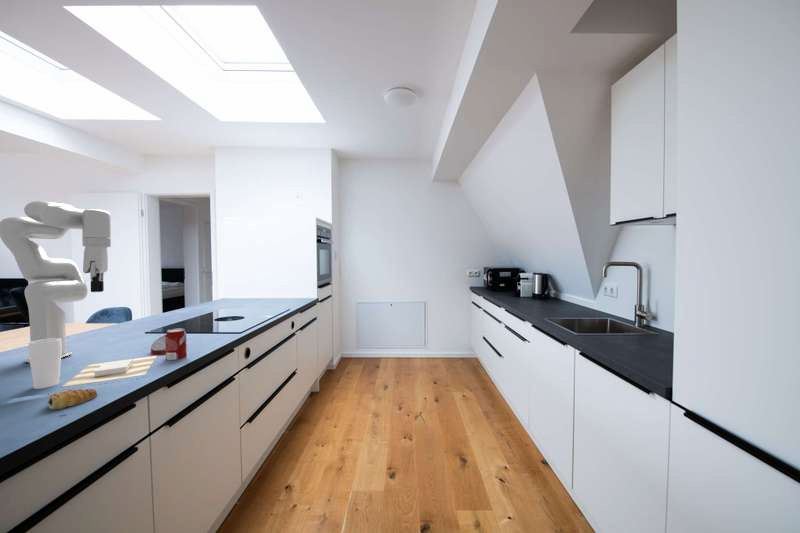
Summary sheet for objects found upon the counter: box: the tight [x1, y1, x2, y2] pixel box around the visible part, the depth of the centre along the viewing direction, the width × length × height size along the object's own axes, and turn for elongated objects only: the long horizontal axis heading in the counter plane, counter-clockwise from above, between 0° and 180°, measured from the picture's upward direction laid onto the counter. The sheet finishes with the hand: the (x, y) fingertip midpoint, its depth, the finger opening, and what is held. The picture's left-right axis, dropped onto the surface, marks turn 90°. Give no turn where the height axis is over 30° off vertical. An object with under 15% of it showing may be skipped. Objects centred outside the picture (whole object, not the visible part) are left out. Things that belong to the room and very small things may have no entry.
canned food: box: [150, 333, 167, 356], centre depth 131 cm, size 11×10×10 cm
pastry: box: [47, 388, 98, 411], centre depth 86 cm, size 9×7×4 cm
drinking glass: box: [28, 338, 62, 390], centre depth 95 cm, size 7×7×15 cm
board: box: [61, 355, 158, 392], centre depth 109 cm, size 24×20×1 cm
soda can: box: [164, 327, 188, 361], centre depth 122 cm, size 7×7×12 cm
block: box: [95, 358, 134, 377], centre depth 108 cm, size 2×8×10 cm
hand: (97, 291), depth 115 cm, fingers closed
